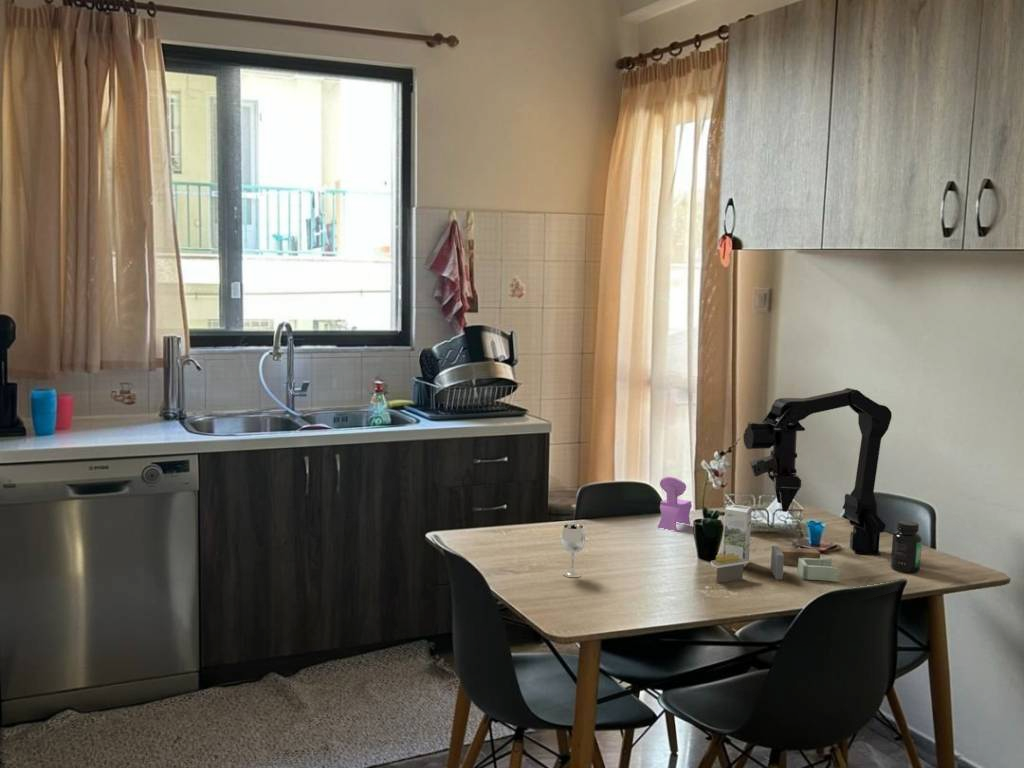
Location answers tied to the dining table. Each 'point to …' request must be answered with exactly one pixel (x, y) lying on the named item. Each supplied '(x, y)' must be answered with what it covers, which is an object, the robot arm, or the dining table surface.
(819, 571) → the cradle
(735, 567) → the platform
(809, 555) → the brown rectangular block
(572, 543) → the wineglass
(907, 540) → the supplement bottle
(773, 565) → the wall
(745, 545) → the syrup box
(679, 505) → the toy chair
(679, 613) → the dining table surface
